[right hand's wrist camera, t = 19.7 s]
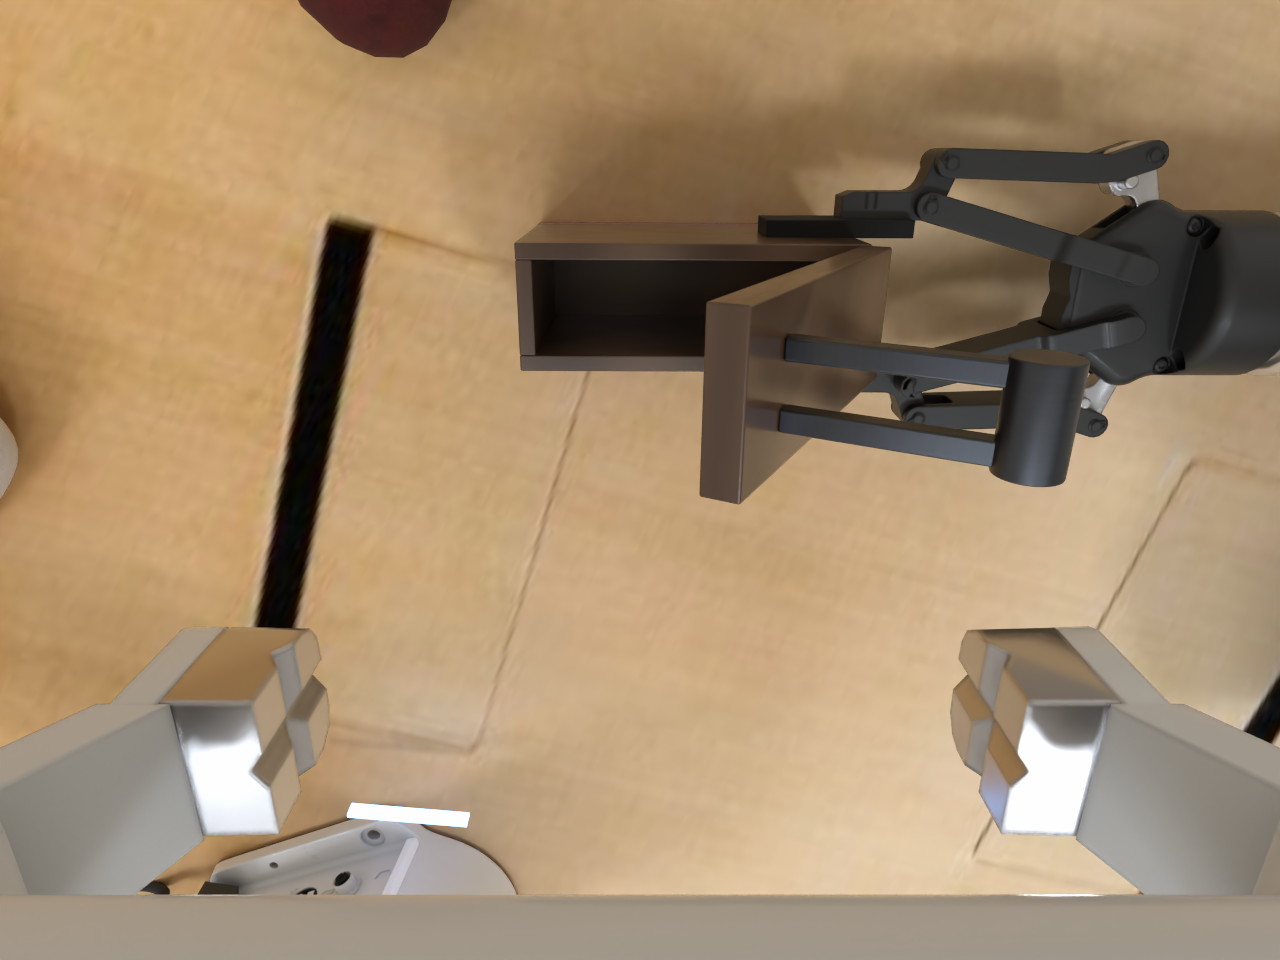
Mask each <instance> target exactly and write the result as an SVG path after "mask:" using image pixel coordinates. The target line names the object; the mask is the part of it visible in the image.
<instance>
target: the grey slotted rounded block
mask: <svg viewBox="0 0 1280 960" xmlns="http://www.w3.org/2000/svg"><path fill="white" fill-rule="evenodd" d="M17 463H18V447H17V444H16V441H15V438H14V436H13V434H12V432H11V431H10V429H9V428H8V427H7V425H6V424H5V423H4V421H3V420H2V419H1V418H0V499H1V497H2V496H3V494H4V493H5V491H6V489H7V487H8V486H9V484H10V482H11V480H12V478H13V475H14V473H15V471H16V468H17Z"/></svg>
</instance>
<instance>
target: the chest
mask: <svg viewBox="0 0 1280 960" xmlns="http://www.w3.org/2000/svg"><path fill="white" fill-rule="evenodd" d="M514 245H515V259H516V261H515V264H516V284H517V304H518V324H519V345H520V355H521V356H520V364H521V370H522V371H704V356H705V328H706V304H707V302H708V301H711V300H714V299H717V298H719V297H722V296H725V295H728V294H731V293H733V292H736V291H739V290H742V289H744V288H747V287H750V286H753V285H755V284H758V283H761V282H764V281H767V280H769V279H772V278H775V277H778V276H780V275H783V274H786V273H789V272H792V271H794V270H797V269H800V268H803V267H805V266H808V265H811V264H814V263H816V262H819V261H822V260H825V259H828V258H830V257H833V256H836V255H839V254H841V253H844V252H847V251H850V250H853V249H855V248H858V247H861V246H872V245H871V244H868V243H866V242H863V241H861V240H858V239H856V238H806V237H765V236H763V235H762V234H760V233H759V232H758V224H751V223H552V222H541V223H539V224H538V226H536V227H535V228H534V229H532V230H531V231H530V232H529V233H527V234H526V235H525V236H523V237H522V238H521V239H519V240H518V241H517V242H516V243H515V244H514Z"/></svg>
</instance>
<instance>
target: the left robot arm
mask: <svg viewBox="0 0 1280 960" xmlns="http://www.w3.org/2000/svg"><path fill="white" fill-rule="evenodd" d="M1168 156H1169V149H1168V145H1167V144H1166V143H1165V142H1163V141H1160V140H1141V141H1123V142H1120V143H1117V144H1114V145H1111V146H1108V147H1104V148H1101V149H1098V150H1095V151H1092V152H1089V153H1074V152H1047V151H1020V150H993V149H967V148H934V149H930V150H928V151H927V152H925V153H924V155H923V156H922V158H921V161H920V170H919V172H918V174H917V176H916V178H915V180H914V182H913V183H912V184H911V185H910V186H909V187H907V188H906V189H903V190H846V191H844V192H841V193H839V194H836V195H835V206H834V216H758V232H759V233H760V234H762V235H763V236H765V237H806V238H913V233H914V225H915V220H921V221H924V222H927V223H931V224H934V225H937V226H940V227H944V228H947V229H950V230H954V231H957V232H960V233H963V234H967V235H970V236H973V237H977V238H980V239H983V240H986V241H990V242H993V243H996V244H1000V245H1003V246H1006V247H1010V248H1013V249H1016V250H1019V251H1023V252H1026V253H1029V254H1032V255H1035V256H1039V257H1042V258H1045V259H1048V260H1051V265H1050V270H1049V283H1050V292H1049V295H1048V297H1047V299H1046V301H1045V304H1044V306H1043V309H1042V314H1041V317H1037V318H1033V319H1029V320H1026V321H1022V322H1020V323H1018V325H1017V326H1015V327H1011V328H1007V329H1004V330H1000V331H996V332H992V333H989V334H985V335H981V336H977V337H973V338H970V339H966V340H962V341H958V342H955V343H951V344H947V345H943V346H940V347H936V348H935V349H944V350H954V351H963V352H972V353H982V354H991V355H1000V356H1009V354H1010V353H1011V352H1013V351H1016V350H1023V349H1045V350H1055V351H1063V352H1068V353H1073V354H1077V355H1080V356H1083V357H1085V358H1087V359H1088V360H1089V361H1090V367H1089V372H1088V373H1090V375H1089V376H1088V378H1087V381H1086V386H1085V391H1084V395H1083V400H1082V405H1081V409H1080V414H1079V419H1078V423H1077V428H1076V433H1079V434H1082V435H1085V436H1088V437H1097V436H1100V435H1101V434H1103V433H1104V431H1105V430H1106V429H1107V426H1108V420H1107V418H1106V417H1105V416H1104V415H1102V414H1101V413H1102V411H1103V409H1104V408H1105V406H1106V404H1107V402H1108V401H1109V399H1110V397H1111V395H1112V393H1113V392H1114V390H1115V388H1116V386H1117V385H1125V384H1128V383H1131V382H1133V381H1134V380H1136V379H1139V378H1141V377H1144V376H1148V375H1240V374H1244V373H1248V374H1251V375H1280V211H1277V212H1274V213H1271V212H1268V211H1213V210H1180V209H1178V208H1176V207H1174V206H1173V205H1172V204H1170V203H1169V202H1167V201H1163V200H1159V190H1158V178H1157V169H1158V168H1160V167H1162V165H1163V164H1164V163H1165V162H1166V161H1167V158H1168ZM955 178H963V179H991V180H1018V181H1045V182H1073V183H1098V185H1099V187H1100V190H1101V191H1102V192H1103V193H1105V194H1108V195H1118V196H1121V197H1123V199H1124V200H1125V203H1126V205H1124V206H1122V207H1121V208H1119V209H1118V210H1116V211H1115V212H1113V213H1112V214H1110V215H1109V216H1107V217H1106V218H1104V219H1103V220H1101V221H1100V222H1098V223H1097V224H1095V225H1094V226H1092V227H1091V228H1089V229H1088V230H1086V231H1085V232H1083V233H1081V234H1080V235H1078V236H1075V235H1072V234H1068V233H1064V232H1061V231H1058V230H1054V229H1051V228H1048V227H1045V226H1041V225H1038V224H1035V223H1032V222H1028V221H1025V220H1022V219H1019V218H1015V217H1012V216H1009V215H1006V214H1002V213H999V212H996V211H993V210H989V209H986V208H983V207H980V206H976V205H973V204H970V203H967V202H963V201H960V200H957V199H954V198H950V197H947V194H948V192H949V190H950V188H951V186H952V184H953V182H954V180H955ZM954 383H957V382H949V381H941V380H933V379H924V378H916V377H908V376H900V375H892V374H884V373H877V377H876V379H874V380H873V381H872V382H871V383H870V384H869V385H868V386H867V387H866V388H865V389H864V390H863V391H862V392H886V393H889V394H890V398H891V402H892V403H891V409H892V411H893V413H894V414H895V415H896V416H897V417H898V418H899V419H900V420H901V421H906V422H912V423H919V424H926V425H933V426H940V427H947V428H953V429H994V428H996V425H997V420H998V414H999V408H1000V402H1001V397H1002V391H1003V390H997V391H964V392H931V393H922V392H923V391H927V390H931V389H935V388H938V387H942V386H946V385H950V384H954Z"/></svg>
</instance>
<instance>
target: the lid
mask: <svg viewBox="0 0 1280 960" xmlns="http://www.w3.org/2000/svg"><path fill="white" fill-rule="evenodd" d="M891 251H892V249H891V248H890V247H877V246H861V247H858V248H855V249H853V250H850V251H847V252H844V253H841V254H839V255H836V256H833V257H830V258H828V259H825V260H822V261H819V262H816V263H814V264H811V265H808V266H805V267H803V268H800V269H797V270H794V271H792V272H789V273H786V274H783V275H780V276H778V277H775V278H772V279H769V280H767V281H764V282H761V283H758V284H755V285H753V286H750V287H747V288H744V289H742V290H739V291H736V292H733V293H731V294H728V295H725V296H722V297H719V298H717V299H714V300H711V301H708V302H707V304H706V328H705V356H704V385H703V413H702V442H701V470H700V496H701V497H706V498H710V499H715V500H720V501H725V502H729V503H734V504H741V503H742V502H743V501H744V500H745V499H746V498H747V497H748V496H749V495H750V494H752V493H753V492H754V491H755V490H756V489H757V488H758V487H759V486H760V485H761V484H762V483H763V482H764V481H766V480H767V479H768V478H769V477H770V476H771V475H772V474H773V473H774V472H775V471H776V470H777V469H778V468H780V467H781V466H782V465H783V464H784V463H785V462H786V461H787V460H788V459H789V458H790V457H791V456H793V455H794V454H795V453H796V452H797V451H798V450H799V449H800V448H801V447H802V446H803V445H804V444H805V443H807V442H808V441H809V440H810V439H811V438H817V439H824V440H830V441H836V442H842V443H848V444H854V445H860V446H866V447H873V448H879V449H885V450H891V451H897V452H903V453H909V454H915V455H922V456H928V457H934V458H940V459H946V460H952V461H958V462H964V463H971V464H977V465H983V466H989V470H990V472H991V473H992V474H993V475H994V476H996V477H998V478H1000V479H1002V480H1005V481H1008V482H1011V483H1014V484H1019V485H1024V486H1032V487H1051V486H1057V485H1060V484H1062V483H1063V482H1064V481H1065V479H1066V475H1067V470H1068V465H1069V461H1070V456H1071V451H1072V447H1073V442H1074V437H1075V433H1076V428H1077V423H1078V419H1079V414H1080V409H1081V405H1082V400H1083V395H1084V391H1085V386H1086V381H1087V377H1088V372H1089V367H1090V361H1089V360H1088V359H1087V358H1085V357H1083V356H1080V355H1077V354H1073V353H1068V352H1063V351H1055V350H1045V349H1023V350H1016V351H1013V352H1011V353H1010V354H1009V356H1000V355H991V354H982V353H972V352H963V351H954V350H944V349H935V348H925V347H916V346H907V345H897V344H888V343H881V337H882V329H883V320H884V311H885V303H886V294H887V285H888V277H889V268H890V259H891ZM877 373H884V374H892V375H900V376H908V377H916V378H924V379H933V380H941V381H949V382H957V383H965V384H973V385H981V386H990V387H998V388H1003V391H1002V397H1001V402H1000V408H999V414H998V420H997V425H996V431H995V435H994V434H987V433H981V432H974V431H967V430H960V429H953V428H947V427H940V426H933V425H926V424H919V423H912V422H906V421H899V420H892V419H885V418H878V417H872V416H865V415H858V414H851V413H844V412H840V411H841V410H842V409H843V408H844V407H845V406H846V405H848V404H849V403H850V402H851V401H852V400H853V399H854V398H855V397H856V396H857V395H858V394H859V393H860V392H862V391H863V390H864V389H865V388H866V387H867V386H868V385H869V384H870V383H871V382H872V381H873V380H874V379H876V377H877Z"/></svg>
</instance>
